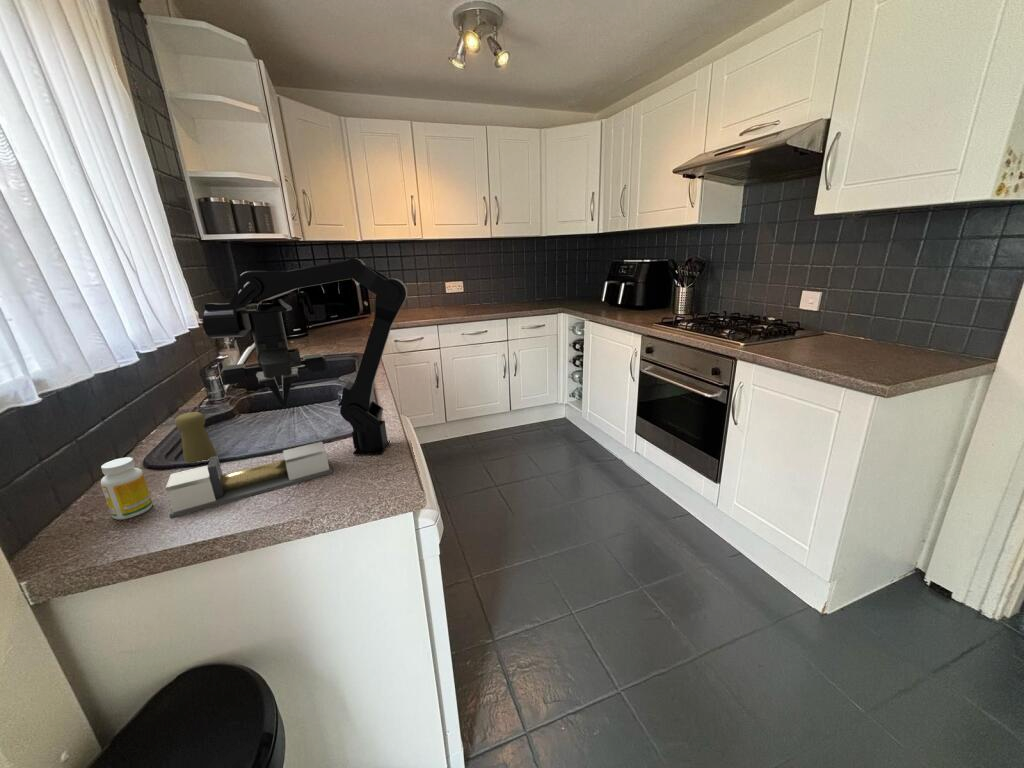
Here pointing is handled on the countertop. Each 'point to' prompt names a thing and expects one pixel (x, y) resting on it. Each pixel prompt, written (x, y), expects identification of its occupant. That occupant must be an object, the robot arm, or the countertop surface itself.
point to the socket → (190, 488)
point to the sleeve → (306, 460)
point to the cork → (194, 437)
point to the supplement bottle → (125, 488)
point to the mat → (251, 490)
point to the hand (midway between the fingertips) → (284, 407)
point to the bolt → (242, 475)
